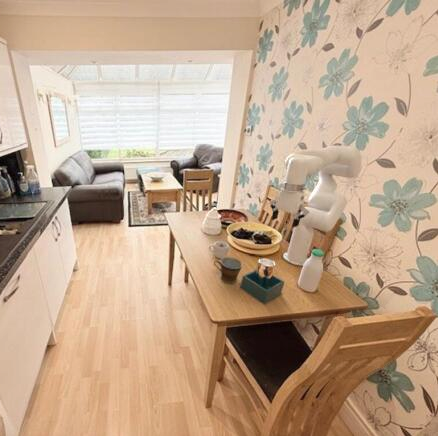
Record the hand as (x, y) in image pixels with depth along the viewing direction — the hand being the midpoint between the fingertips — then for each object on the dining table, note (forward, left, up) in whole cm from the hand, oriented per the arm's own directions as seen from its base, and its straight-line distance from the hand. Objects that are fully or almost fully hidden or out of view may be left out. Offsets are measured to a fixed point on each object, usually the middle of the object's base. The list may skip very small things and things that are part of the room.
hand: (284, 222), depth 110 cm
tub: (+14, +4, -30) cm, 34 cm away
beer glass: (+14, +4, -30) cm, 33 cm away
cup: (+9, -28, -31) cm, 42 cm away
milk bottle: (-7, +14, -31) cm, 34 cm away
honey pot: (-12, -54, -31) cm, 63 cm away
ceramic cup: (+21, -11, -31) cm, 39 cm away
